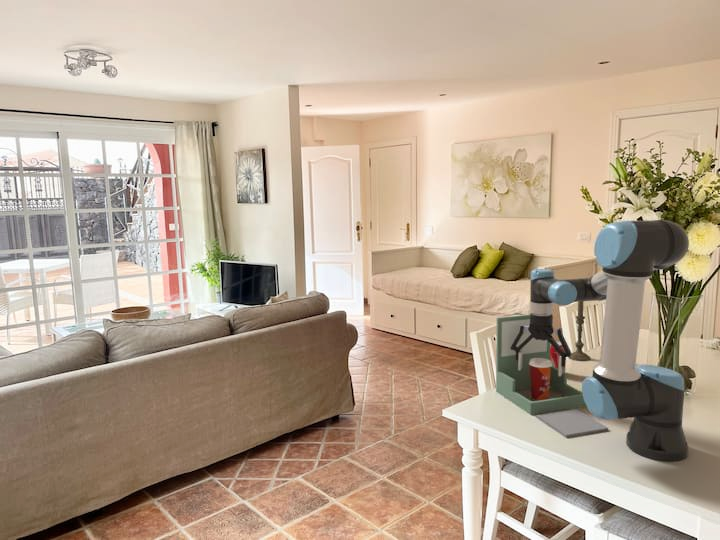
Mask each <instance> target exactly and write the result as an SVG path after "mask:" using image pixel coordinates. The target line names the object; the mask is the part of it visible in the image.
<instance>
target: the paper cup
mask: <svg viewBox="0 0 720 540" xmlns="http://www.w3.org/2000/svg"><path fill="white" fill-rule="evenodd" d="M529 365H530V379H531V388H530V392H531V393H530V394H531V400H533V401H540V400H547V399H549V395H550V394H549V392H550V387H549V384H550V372H551V366H552V364H551V361H550V360H548V359H545V358H532V359H531V360H530V362H529Z"/></svg>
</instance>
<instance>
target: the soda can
mask: <svg viewBox="0 0 720 540" xmlns="http://www.w3.org/2000/svg"><path fill="white" fill-rule="evenodd" d="M555 341H556V342H557V343H558V345H559V346H560V347H561V348H562V350H563V351H564V352H565V350H564V348H563V346H562V344H561V342H560V340H555ZM559 357H560V355H559V353H558V352H557V351H556V350H555V348H554V347H553V346H552V345H551V343H550V361H551V364H552V366H553V367H555V368H557V369H559ZM562 371H563V372H565V373H566V364H565V366H564V367H562Z"/></svg>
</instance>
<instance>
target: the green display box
mask: <svg viewBox="0 0 720 540" xmlns="http://www.w3.org/2000/svg"><path fill="white" fill-rule="evenodd" d="M523 324H524V325H525V326H529V325H530V314H521V315H511V316H501V317H496V337H495V338H496V339H495V340H496V342H495V343H496V345H495V346H496V351H495V352H496V355H495V356H496V357H495V358H496V361H495V362H496V363H495V366H496V367H495V369H496V370H495V371H496V372H495V373H496V375H495V378H496V379H495V389H496V390H495V392H496V393H497V394H499V395H501V396H502V397H503V396H504V398H505V399H507V400H508V401H509V402H511V403H512V404H514V405H515V406H517V407H518V408H520V409H521V410H523V411H524V412H526V413H527V414H529V415H532V416H533V415H540V414H546V413H553V412H559V411H566V410H572V409H576V408H583V407H584V408H585V407H587V405H586V403H585V401H584V398H583V394H582V390H579V389H578V388H575V387H573V386H572V385H570V384H567V382H568V379H567V378H568V373H567V372H566V371H565V372H563V371H562V375H561V376H558V372H559V369H557V368H555V367H553V366H551V372H550V384H549V388H550V389H552V388H553V390H554V391H556V392H558V393H560V394H561V393H562V394H561V395H564V396H562V397H553V398H548V399H547V400H540V401H535V400H533V401H532V400H530V399H528V398H526V397H525V396H524V395H522V394H521V393H519V392H517V390H525V389H526V390H527V389H531V379H530V365H529V362H530V360H531V359H532V358H545V359H548V360H550V343H549V342H548V340H545V341H544V340H536V339H534V338H532V339H531V340H530V341H529V342H528V343H527V344H526V345H525V346H524V347H523V348H522V349H521V350H520V351H522V369H521V370H518V360H516V352H515V351H514V350H511V349H510V348H511V346H512V344H513V342H514V341H515V339H516V337H517V335H518V334H519V332H520V327H521V325H523ZM530 335H531V333H530V332H529V330H526V332H524V333H523V335H522V336H521V338H520V340H519V342H518V343H517V345H516V347H519V346H520V345H521V344H522V343H523V342H524V341H525V340H526V339H527V338H528V337H529V336H530Z"/></svg>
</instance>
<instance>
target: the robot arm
mask: <svg viewBox="0 0 720 540" xmlns="http://www.w3.org/2000/svg"><path fill="white" fill-rule="evenodd" d="M689 246H690V241H689V236H688V234H687V232H686V231H685V228H683V227H682V226H681V225H679V224H678V223H676V222H673V221H671V220H666V219H655V220H654V219H653V220H652V219H651V220H623V221H622V220H621V221H617V222H615V221H614V222H611V223H608V224H606V225H605V226H604V227H603V228H602V229H600V231H599V232H598V234H597V236H596V238H595V241H594V247H593V248H594V256H595V261H596V263H597V264H598V265H599V266H600V267H601V268H602V269H601V270H599V271H598V272H597V273H595V274H593V275H592V276H590V277H586V278H585V277H584V278H571V279H558V278H555V272H554V270H552V269H550V268H536V269H533V270H532V271H531V273H530V280H529V281H530V287H529V288H530V291H529V294H530V296H529V297H530V300H529V304H530V306H529V307H530V308H529V312H530V314H529V315H530V325H529V326H525V325H524V324H523V325H521V327H520V332H519V334H518V335H517V337H516V339H515V341H514V342H513V344H512V346H511V348H510V349H511V350H514V351H515V352H516V360H518V370H521V369H522V351H520V350H521V349H522V348H523V347H524V346H525V345H526V344H527V343H528V342H529V341H530V340H531V339H532V338H534V339H536V340H544V341H545V340H548V342H549V343H551V345H552V346H553V347H554V348H555V350H556V351H557V352H558V353H559V355H560V357H559V372H558V376H561V375H562V367H564V366H565V364H566V363H567V359H566V358H568V357H570V356H571V354H572V353H573V352H572V351H571V348H570V347H569V344H568V342H567V341H566V338H565V335H564V334H563V329H562V327H559V328H554V327H553V326H554V325H553V323H554V321H553V319H554V317H553V312H554V304H556V305H561V306H569V305H571V304H572V303H576V302H577V303H578V302H580V301H584V302H592V301H594V302H595V301H599V302H601V301H605V306H604V317H603V326H602V327H603V328H602V337H601V338H602V339H601V347H600V348H601V350H600V358H599V359H600V360H599V362H597V363H596V364H594V366H593V367H592V376H588V377H585V379H584V380H582V383H581V392H582V394H583V398H584V401H585V403H586V405H587V406H586V407H587V409H588V410H589V412H590V413H591V414H592V416H594V417H595V418H596V419H598V420H601V421H608V420H610V421H617V420H621V419H631V418H633V419H632V422H631V425H630V427H629V430H628V431H627V433H626V438H625V439H626V440H625V443H626V446H627V447H628V448H629V450H631V451H633V452H634V453H636V454H638V455H641V456H643V457H646V458H649V459H652V460H657V461H663V462H675V461H676V462H677V461H683V460H684V459H686V458H688V455H689V444H688V442H687V441H686V440H687V439H686V436H685V435H686V434H685V431H684V429H683V414H684V403H685V401H684V399H685V391H686V389H685V378H684V376H683V375H682V374H681V373H680V372H678V371H676V370H673V369H670V368H668V367H664V366H660V365H653V364H639V365H637V364H636V363H637V355H638V346H639V339H640V329H641V323H642V322H641V321H642V320H641V319H642V311H643V304H644V296H645V295H644V293H645V285H646V281H648V280H649V279H650V278H651V277H653V276H654V275H653V274H654V271H655V270H665V269H667V268H669V267H672V266H673V265H675V264H677V263H680V262H681V260H683V258H684V257H685V256H686V255H687V252H688V250H689ZM526 330H529V332H530V333H531V335H530V336H529V337H528V338H527V339H526V340H525V341H524V342H523V343H522V344H521V345H520V346H519V347H516V345H517V343H518V342H519V340H520V338H521V336H522V335H523V333H524V332H526ZM553 334H555V335H556V336H557V338H558V341H560V342H561V344H562V346H563V348H564V350H565V352H564V351H563V350H562V348H561V347H560V346H559V345H558V343H557V342H556V341H557V340H555V338H554V337H553V336H552V335H553ZM636 365H637V366H636ZM565 367H566V366H565Z"/></svg>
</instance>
